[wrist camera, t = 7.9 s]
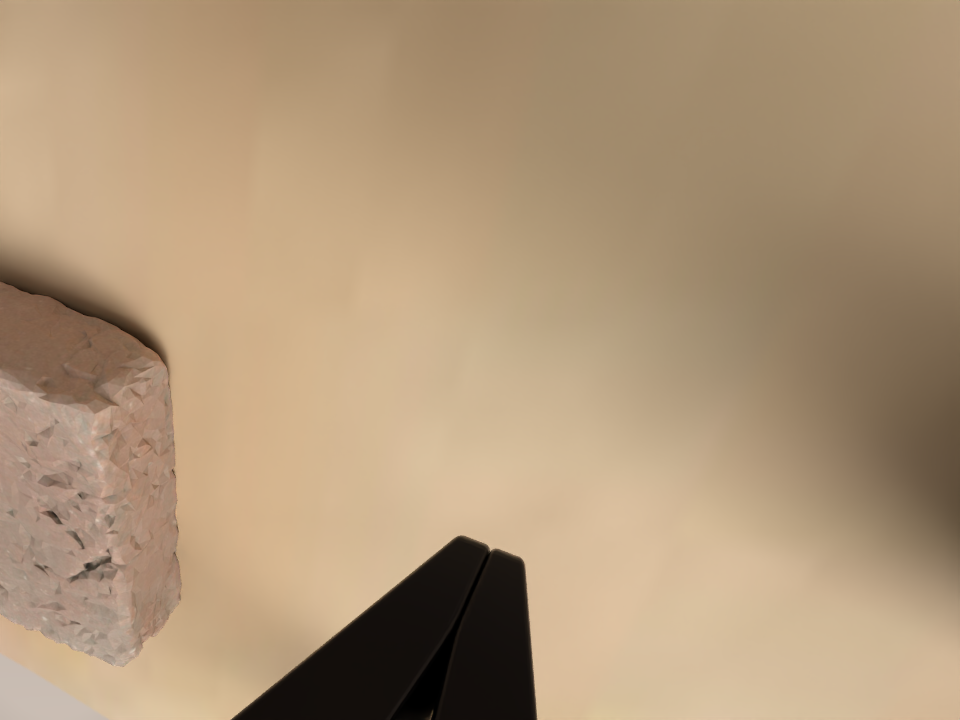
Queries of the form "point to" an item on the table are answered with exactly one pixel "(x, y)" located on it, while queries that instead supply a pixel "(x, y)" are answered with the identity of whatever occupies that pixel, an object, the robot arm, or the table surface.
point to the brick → (84, 480)
